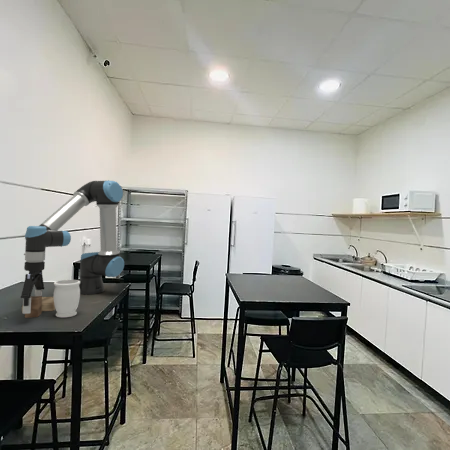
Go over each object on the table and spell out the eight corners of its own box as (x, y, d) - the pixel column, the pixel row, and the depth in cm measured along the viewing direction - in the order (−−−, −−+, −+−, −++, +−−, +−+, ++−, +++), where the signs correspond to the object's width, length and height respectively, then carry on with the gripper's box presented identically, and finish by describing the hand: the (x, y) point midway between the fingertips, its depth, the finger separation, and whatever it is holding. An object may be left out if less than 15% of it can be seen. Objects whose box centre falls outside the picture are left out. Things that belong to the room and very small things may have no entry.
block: (41, 313, 137) (41, 296, 137) (37, 317, 133) (38, 299, 132) (28, 314, 136) (29, 296, 136) (24, 317, 131) (25, 299, 131)
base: (61, 302, 155) (61, 296, 155) (53, 310, 142) (53, 303, 142) (32, 303, 152) (32, 296, 152) (21, 311, 138) (21, 304, 138)
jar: (51, 319, 130) (52, 285, 130) (54, 312, 140) (55, 280, 139) (79, 317, 134) (79, 283, 134) (79, 310, 144) (80, 279, 144)
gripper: (35, 257, 145) (32, 301, 145) (13, 265, 120) (10, 317, 120) (52, 257, 147) (50, 300, 147) (34, 265, 122) (31, 317, 122)
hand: (32, 309), depth 134 cm, fingers open, 14 cm apart
